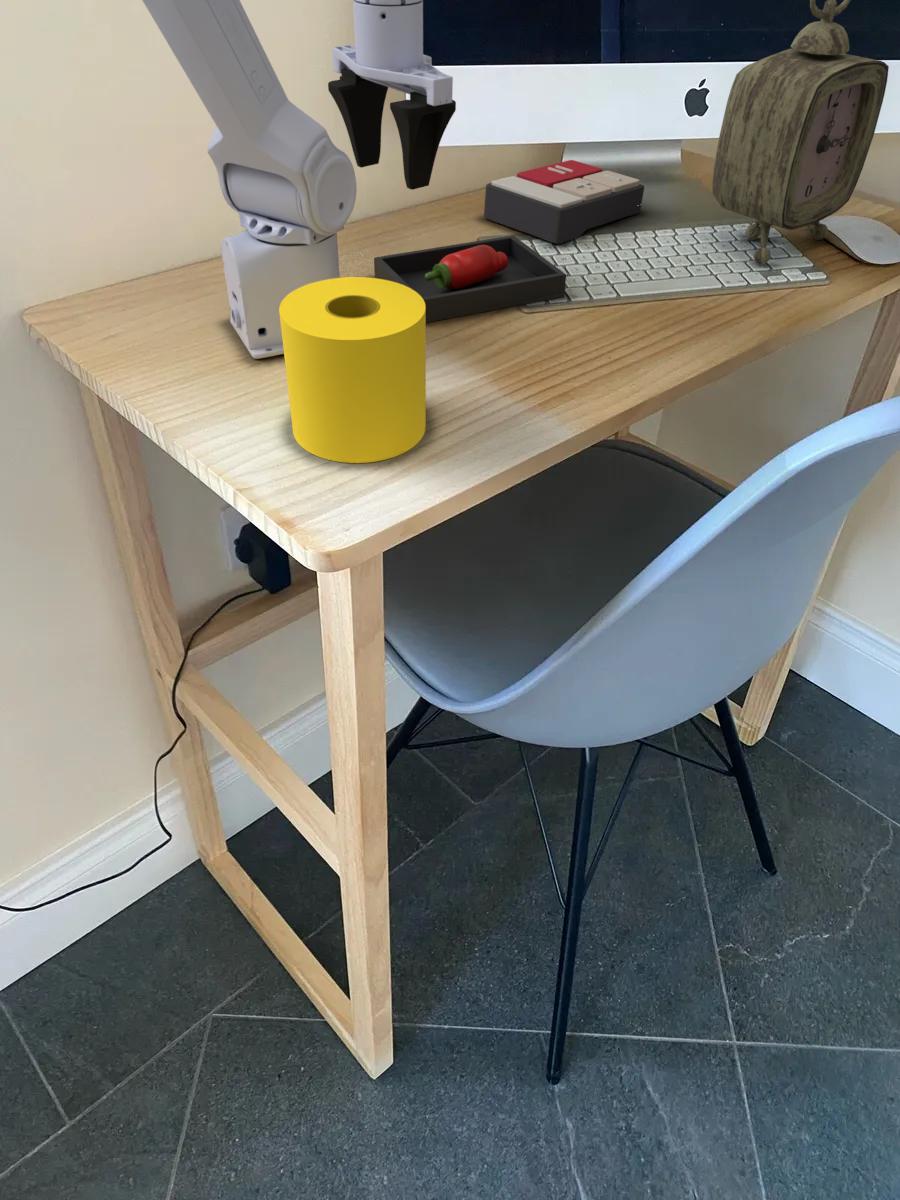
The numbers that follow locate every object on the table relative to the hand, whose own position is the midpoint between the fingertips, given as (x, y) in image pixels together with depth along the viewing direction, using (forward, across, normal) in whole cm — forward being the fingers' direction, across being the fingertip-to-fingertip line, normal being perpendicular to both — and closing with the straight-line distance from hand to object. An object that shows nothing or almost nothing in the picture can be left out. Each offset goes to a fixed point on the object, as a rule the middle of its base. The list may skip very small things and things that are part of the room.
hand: (392, 175), depth 83 cm
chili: (+9, -7, -4) cm, 12 cm away
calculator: (+10, +2, -25) cm, 27 cm away
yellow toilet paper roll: (+10, -21, +19) cm, 30 cm away
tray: (+9, -7, -4) cm, 12 cm away
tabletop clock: (+10, -18, -37) cm, 42 cm away
